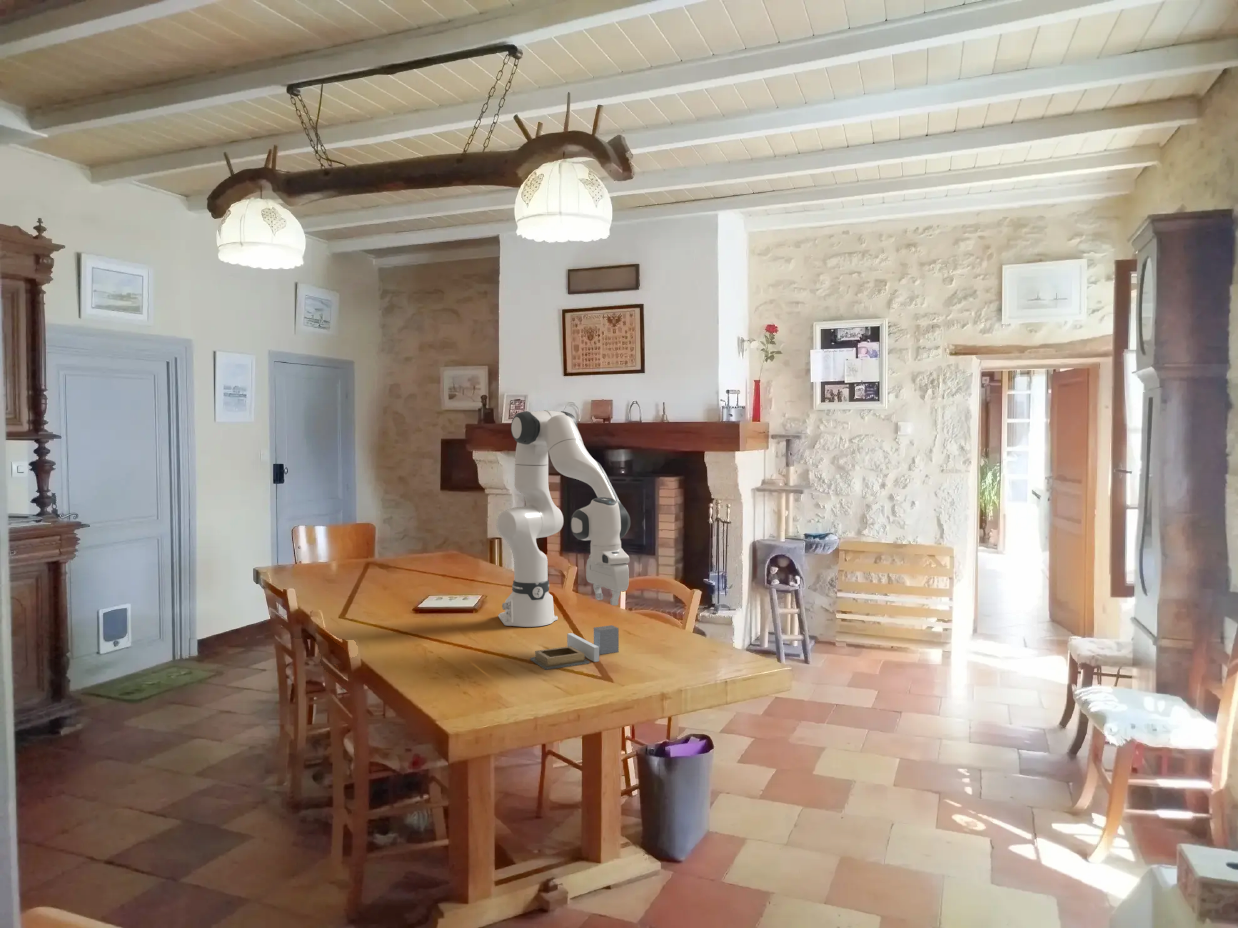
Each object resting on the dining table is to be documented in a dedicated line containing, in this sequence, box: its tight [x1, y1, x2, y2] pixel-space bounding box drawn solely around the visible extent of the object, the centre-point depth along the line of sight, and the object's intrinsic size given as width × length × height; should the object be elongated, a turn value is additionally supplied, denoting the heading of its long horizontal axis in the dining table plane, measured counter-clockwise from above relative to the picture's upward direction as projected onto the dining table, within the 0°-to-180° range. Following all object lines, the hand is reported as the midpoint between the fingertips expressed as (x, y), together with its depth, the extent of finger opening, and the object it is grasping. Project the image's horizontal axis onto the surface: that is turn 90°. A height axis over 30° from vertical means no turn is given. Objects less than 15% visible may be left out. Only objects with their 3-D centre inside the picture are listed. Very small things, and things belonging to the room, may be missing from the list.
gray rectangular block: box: [593, 624, 620, 656], centre depth 241 cm, size 4×6×7 cm, turn 118°
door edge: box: [566, 632, 600, 663], centre depth 239 cm, size 18×2×4 cm, turn 28°
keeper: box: [529, 646, 590, 671], centre depth 231 cm, size 11×13×3 cm
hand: (606, 602), depth 240 cm, fingers open, 8 cm apart
